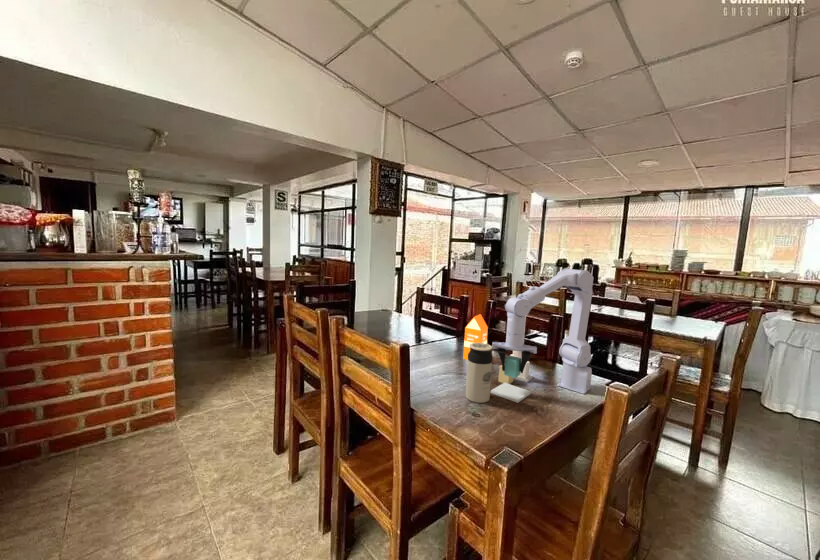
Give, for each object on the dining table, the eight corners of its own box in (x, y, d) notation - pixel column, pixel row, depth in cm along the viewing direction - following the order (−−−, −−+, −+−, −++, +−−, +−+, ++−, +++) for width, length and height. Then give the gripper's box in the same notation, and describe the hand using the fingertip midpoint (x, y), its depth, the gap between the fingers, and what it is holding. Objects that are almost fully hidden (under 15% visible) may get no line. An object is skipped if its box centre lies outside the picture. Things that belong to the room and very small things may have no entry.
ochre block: (513, 381, 124) (514, 366, 123) (508, 384, 121) (509, 369, 120) (503, 378, 127) (504, 363, 126) (498, 381, 124) (499, 366, 123)
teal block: (519, 374, 113) (521, 358, 113) (515, 378, 111) (516, 361, 110) (509, 371, 116) (510, 355, 115) (504, 374, 113) (505, 357, 113)
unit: (532, 378, 127) (534, 361, 127) (527, 382, 124) (528, 364, 123) (508, 371, 134) (510, 354, 134) (502, 374, 131) (504, 357, 130)
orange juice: (486, 357, 150) (489, 315, 148) (479, 363, 143) (482, 318, 140) (470, 354, 154) (472, 312, 152) (462, 359, 147) (465, 315, 145)
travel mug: (461, 394, 112) (464, 343, 110) (480, 391, 115) (484, 341, 113) (473, 405, 104) (476, 350, 102) (494, 401, 107) (498, 348, 105)
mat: (530, 393, 114) (530, 391, 114) (517, 402, 107) (517, 400, 107) (504, 384, 121) (504, 382, 121) (490, 392, 114) (490, 390, 114)
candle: (515, 361, 147) (519, 306, 144) (506, 355, 153) (510, 303, 151) (528, 360, 149) (533, 306, 146) (519, 355, 155) (523, 303, 153)
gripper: (535, 331, 114) (532, 369, 115) (493, 327, 117) (490, 364, 119) (539, 337, 107) (535, 376, 109) (493, 332, 110) (491, 371, 112)
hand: (512, 370), depth 113 cm, fingers closed on teal block, 5 cm apart
